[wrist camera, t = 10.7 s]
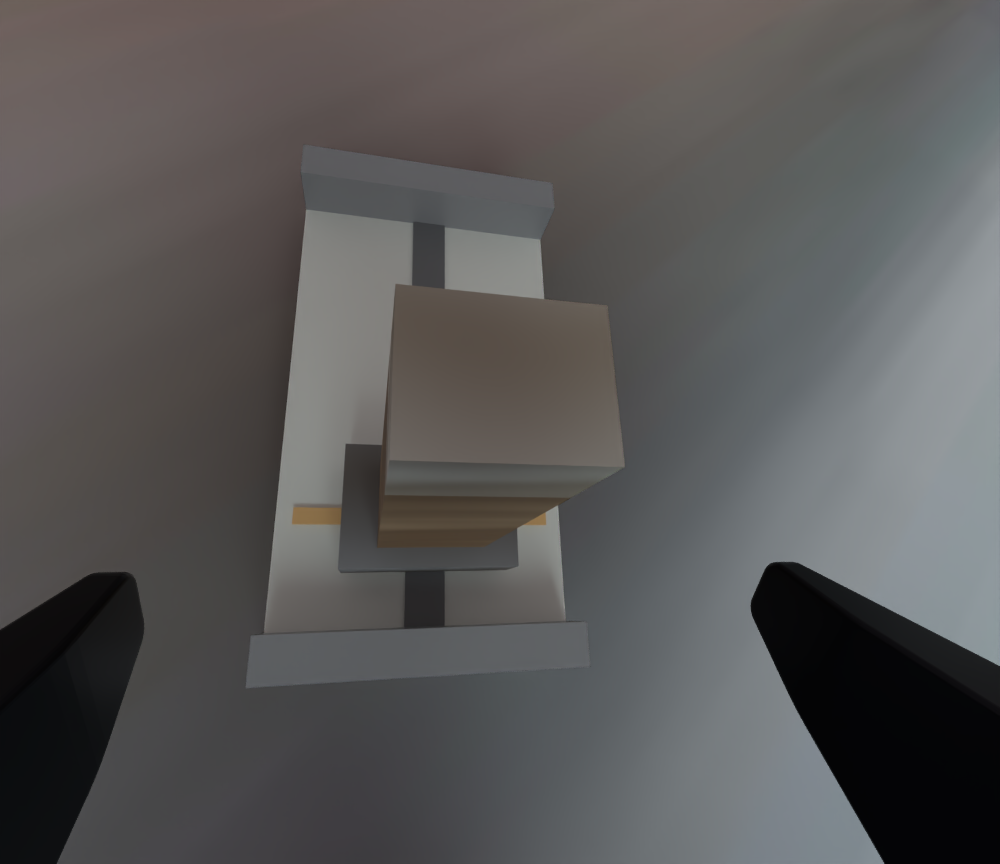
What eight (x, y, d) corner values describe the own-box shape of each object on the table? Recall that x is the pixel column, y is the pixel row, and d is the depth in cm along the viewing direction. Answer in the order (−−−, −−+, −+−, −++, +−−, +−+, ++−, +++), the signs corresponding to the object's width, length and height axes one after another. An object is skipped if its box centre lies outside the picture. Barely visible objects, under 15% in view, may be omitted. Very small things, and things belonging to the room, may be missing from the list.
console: (548, 656, 19) (590, 666, 15) (271, 672, 17) (245, 688, 13) (525, 246, 24) (552, 183, 20) (313, 219, 22) (303, 144, 18)
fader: (506, 570, 17) (700, 509, 7) (340, 573, 16) (294, 506, 6) (502, 462, 18) (664, 280, 8) (347, 457, 17) (319, 238, 7)
